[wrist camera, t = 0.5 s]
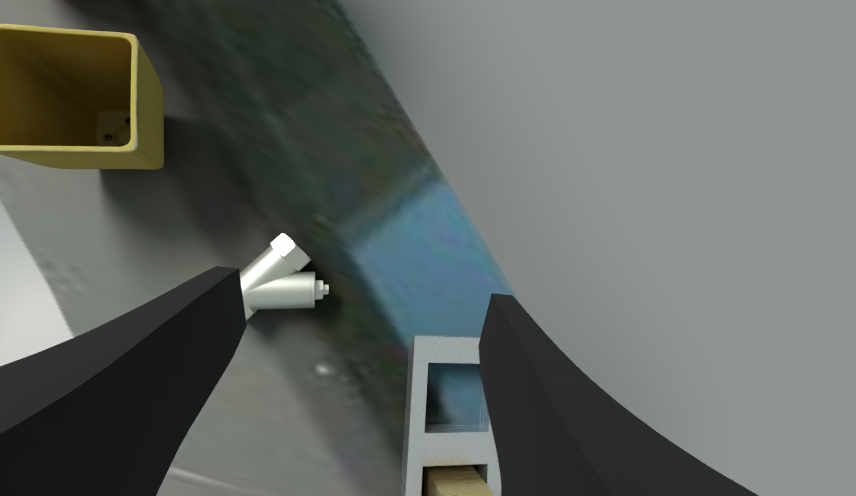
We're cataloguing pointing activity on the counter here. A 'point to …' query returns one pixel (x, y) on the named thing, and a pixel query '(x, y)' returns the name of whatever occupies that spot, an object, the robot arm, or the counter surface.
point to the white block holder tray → (443, 439)
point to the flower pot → (79, 99)
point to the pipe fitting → (280, 279)
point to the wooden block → (454, 481)
